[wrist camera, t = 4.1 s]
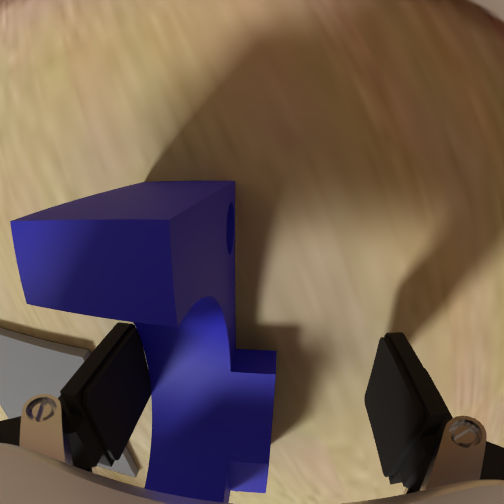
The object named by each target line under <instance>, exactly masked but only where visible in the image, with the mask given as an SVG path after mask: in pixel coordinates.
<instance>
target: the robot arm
mask: <svg viewBox="0 0 504 504" xmlns="http://www.w3.org/2000/svg"><path fill="white" fill-rule="evenodd" d="M60 393H61V395H60V396H59V398H56V397H55V396H53V395H50V394H40V395H36V396H34V397H32V398H30V399H29V400H28V401H27V402H26V403H25V404H24V406H23V408H22V414H21V416H19V417H15V418H11V419H7V420H3V421H0V504H231V503H222V502H213V501H206V500H199V499H193V498H187V497H181V496H176V495H171V494H166V493H161V492H157V491H153V490H148V489H144V488H140V487H137V486H133V485H129V484H126V483H122V482H119V481H116V480H112V479H109V478H106V477H103V476H100V475H97V472H96V468H95V467H96V466H97V464H98V463H100V464H103V465H107V466H110V467H112V465H113V463H114V461H115V460H119V459H120V457H121V455H122V453H123V451H124V449H125V447H126V445H127V443H128V441H129V439H130V436H131V434H132V432H133V430H134V428H135V426H136V424H137V422H138V420H139V418H140V416H141V414H142V412H143V410H144V408H145V406H146V404H147V402H148V400H149V398H150V396H151V385H150V376H149V371H148V367H147V362H146V358H145V353H144V349H143V345H142V342H141V339H140V336H139V333H138V331H137V329H136V327H135V325H133V324H128V323H117V324H116V325H115V326H114V328H113V329H112V330H111V331H110V332H109V333H108V334H107V336H106V337H105V338H104V339H103V340H102V341H101V343H100V344H99V345H98V346H97V347H96V348H95V350H94V351H93V352H92V353H91V354H90V356H89V357H88V358H87V359H86V360H85V362H84V363H83V364H82V365H81V366H80V368H79V369H78V370H77V371H76V372H75V374H74V375H73V376H72V377H71V379H70V380H69V381H68V382H67V383H66V385H65V386H64V387H63V388H62V390H61V391H60ZM365 406H366V409H367V413H368V417H369V420H370V424H371V428H372V431H373V435H374V439H375V443H376V446H377V450H378V454H379V458H380V462H381V466H382V471H383V474H384V476H385V477H388V476H389V480H390V484H395V483H400V482H402V483H403V486H404V487H406V489H405V491H404V493H403V495H399V496H393V497H387V498H381V499H375V500H368V501H361V502H352V503H343V504H504V448H503V447H500V446H497V445H495V444H492V443H490V442H487V441H486V438H487V437H486V430H485V428H484V426H483V425H482V424H481V423H480V422H479V421H478V420H476V419H474V418H472V417H469V416H457V417H455V418H452V416H451V414H450V412H449V410H448V408H447V406H446V404H445V402H444V401H443V399H442V397H441V395H440V393H439V391H438V390H437V388H436V386H435V384H434V383H433V381H432V379H431V377H430V375H429V374H428V372H427V370H426V369H425V368H424V367H423V366H422V364H421V362H420V360H419V359H418V357H417V355H416V354H415V352H414V350H413V349H412V347H411V345H410V344H409V342H408V340H407V339H406V337H405V335H404V334H403V333H402V332H397V333H386V334H385V336H384V337H381V338H380V340H379V344H378V348H377V352H376V357H375V360H374V364H373V368H372V372H371V376H370V379H369V383H368V386H367V390H366V393H365Z"/></svg>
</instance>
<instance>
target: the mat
mask: <svg viewBox="0 0 504 504" xmlns="http://www.w3.org/2000/svg"><path fill="white" fill-rule="evenodd" d="M89 356H90V351H89V350H86V349H82V348H77V347H72V346H68V345H63V344H59V343H55V342H51V341H47V340H43V339H39V338H35V337H31V336H28V335H24V334H21V333H17V332H14V331H10V330H7V329H4V328H0V405H1V407H2V408H3V410H4V412H5V413H6V415H7V417H8V418H9V419H11V418H15V417H19V416H21V414H22V408H23V406H24V404H25V403H26V402H27V401H28V400H29V399H30V398H32V397H34V396H36V395H40V394H50V395H53V396H55V397H56V398H59V396H60V395H61V393H60V391H61V390H62V388H63V387H64V386H65V385H66V383H67V382H68V381H69V380H70V379H71V377H72V376H73V375H74V374H75V372H76V371H77V370H78V369H79V368H80V366H81V365H82V364H83V363H84V362H85V360H86V359H87V358H88V357H89ZM97 466H99V467H102V468H105V469H108V470H112V471H115V472H118V473H121V474H125V475H128V476H132V477H136V476H137V474H138V471H139V470H138V468H137V467H136V465H135V463H134V461H133V459H132V457H131V455H130V453H129V451H128V448H127V446H126V447H125V449H124V451H123V453H122V455H121V457H120V459H119V460H115V461H114V463H113V465H112V467H110V466H107V465H103V464H100V463H98V464H97Z"/></svg>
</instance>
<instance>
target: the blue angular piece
mask: <svg viewBox="0 0 504 504" xmlns="http://www.w3.org/2000/svg"><path fill="white" fill-rule="evenodd" d="M10 222H11V230H12V236H13V243H14V248H15V254H16V259H17V264H18V269H19V274H20V278H21V282H22V287H23V291H24V295H25V299H26V302H27V304H30V305H35V306H40V307H45V308H50V309H55V310H61V311H66V312H72V313H78V314H83V315H89V316H96V317H102V318H109V319H115V320H122V321H130V322H133V323H134V324H135V326H136V329H137V331H138V333H139V336H140V339H141V342H142V345H143V348H144V352H145V355H146V360H147V365H148V370H149V376H150V385H151V396H152V439H151V451H150V460H149V468H148V473H147V479H146V484H145V489H148V490H153V491H157V492H161V493H166V494H171V495H176V496H181V497H187V498H193V499H199V500H206V501H213V502H222V503H228V502H229V496H230V490H232V491H243V492H257V493H266V485H267V477H268V468H269V457H270V444H271V431H272V418H273V405H274V392H275V379H276V354H277V351H267V350H248V349H236V326H235V181H160V182H142V183H138V184H134V185H130V186H126V187H122V188H118V189H114V190H110V191H106V192H103V193H99V194H95V195H92V196H88V197H85V198H81V199H78V200H74V201H71V202H68V203H64V204H61V205H58V206H55V207H51V208H48V209H45V210H42V211H39V212H36V213H33V214H30V215H27V216H24V217H21V218H18V219H15V220H13V221H10Z"/></svg>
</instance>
